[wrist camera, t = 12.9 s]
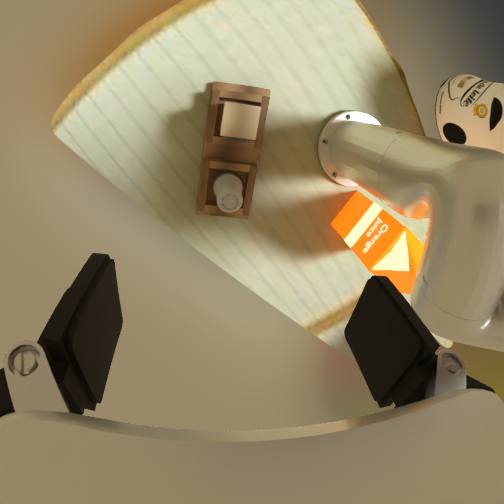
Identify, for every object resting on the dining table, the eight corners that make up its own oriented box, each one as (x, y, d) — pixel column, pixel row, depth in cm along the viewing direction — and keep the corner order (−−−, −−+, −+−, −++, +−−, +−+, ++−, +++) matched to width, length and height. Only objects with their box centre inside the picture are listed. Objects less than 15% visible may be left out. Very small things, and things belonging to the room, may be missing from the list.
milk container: (436, 57, 32) (510, 59, 16) (484, 99, 35) (547, 116, 20) (418, 136, 39) (492, 163, 24) (468, 167, 43) (529, 199, 28)
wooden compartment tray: (269, 90, 34) (283, 85, 27) (247, 216, 44) (253, 242, 36) (213, 82, 33) (211, 74, 25) (196, 211, 43) (191, 236, 35)
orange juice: (361, 247, 50) (418, 317, 32) (329, 224, 46) (386, 296, 29) (386, 215, 47) (454, 275, 30) (357, 189, 44) (430, 245, 26)
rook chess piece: (235, 203, 42) (239, 225, 35) (207, 192, 40) (205, 212, 33) (247, 177, 40) (254, 194, 33) (220, 165, 38) (220, 179, 32)
